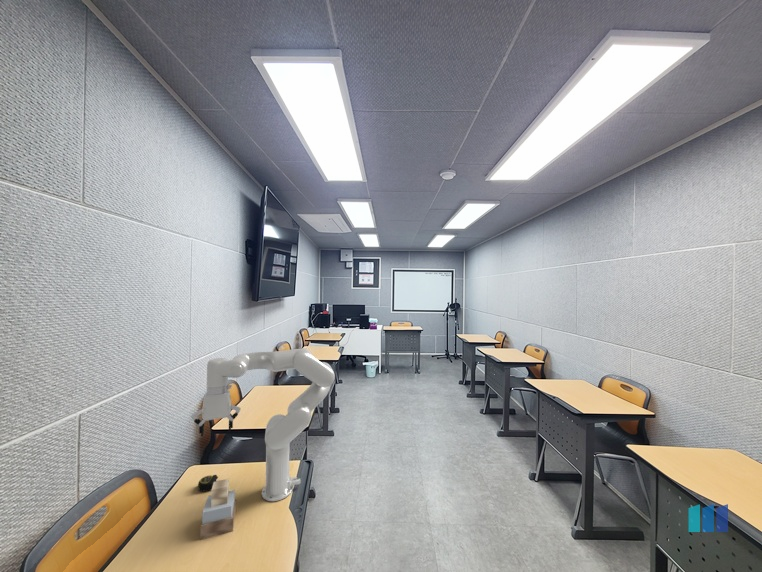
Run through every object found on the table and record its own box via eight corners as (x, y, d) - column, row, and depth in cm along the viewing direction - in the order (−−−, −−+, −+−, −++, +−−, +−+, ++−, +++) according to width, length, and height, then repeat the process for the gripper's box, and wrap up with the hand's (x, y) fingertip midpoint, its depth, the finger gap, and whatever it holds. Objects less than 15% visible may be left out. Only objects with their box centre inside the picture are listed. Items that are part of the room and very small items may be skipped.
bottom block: (235, 512, 112) (235, 499, 113) (232, 532, 103) (233, 517, 103) (206, 519, 109) (206, 506, 109) (200, 541, 99) (200, 526, 100)
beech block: (228, 494, 109) (228, 478, 110) (227, 503, 105) (227, 486, 105) (213, 498, 108) (213, 481, 108) (211, 507, 103) (211, 490, 103)
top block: (234, 500, 112) (234, 490, 112) (231, 517, 103) (231, 506, 104) (208, 506, 109) (208, 495, 109) (202, 524, 100) (202, 512, 100)
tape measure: (214, 491, 124) (214, 482, 124) (195, 494, 122) (196, 485, 122) (217, 481, 131) (218, 473, 131) (200, 484, 129) (200, 476, 129)
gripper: (241, 384, 125) (240, 424, 124) (193, 389, 117) (192, 432, 117) (240, 389, 118) (240, 432, 118) (190, 395, 111) (189, 441, 110)
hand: (216, 432), depth 117 cm, fingers open, 9 cm apart
